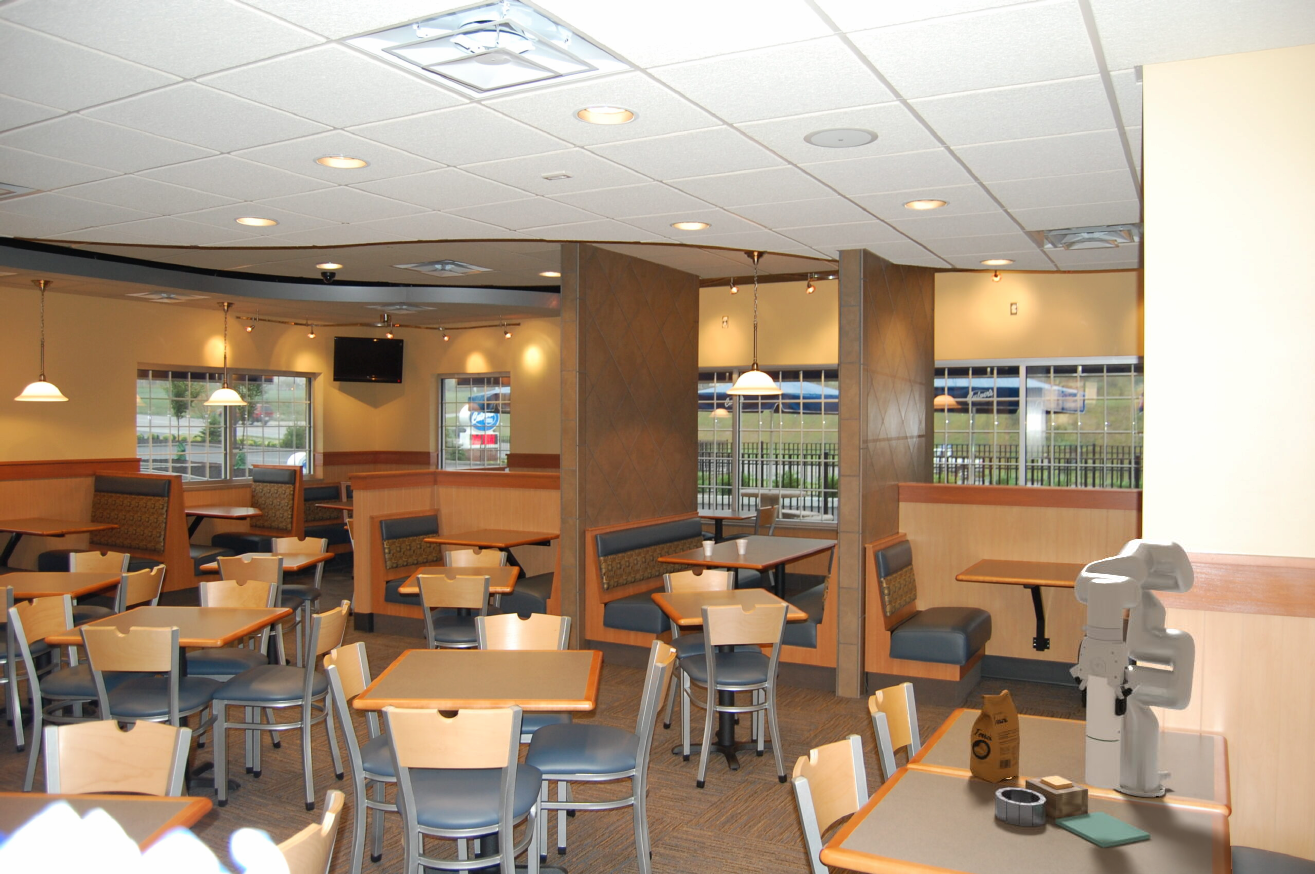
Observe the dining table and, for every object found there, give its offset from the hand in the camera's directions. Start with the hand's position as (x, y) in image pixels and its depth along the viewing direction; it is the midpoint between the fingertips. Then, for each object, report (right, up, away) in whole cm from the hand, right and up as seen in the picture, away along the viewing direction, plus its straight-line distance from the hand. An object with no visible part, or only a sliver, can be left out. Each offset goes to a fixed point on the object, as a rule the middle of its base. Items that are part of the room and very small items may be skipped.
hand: (1103, 710), depth 224 cm
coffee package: (-13, -28, +36) cm, 47 cm away
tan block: (-6, -26, +13) cm, 30 cm away
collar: (-16, -28, +8) cm, 33 cm away
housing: (-5, -28, +13) cm, 31 cm away
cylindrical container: (0, -17, 0) cm, 17 cm away
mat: (0, -28, 0) cm, 28 cm away
